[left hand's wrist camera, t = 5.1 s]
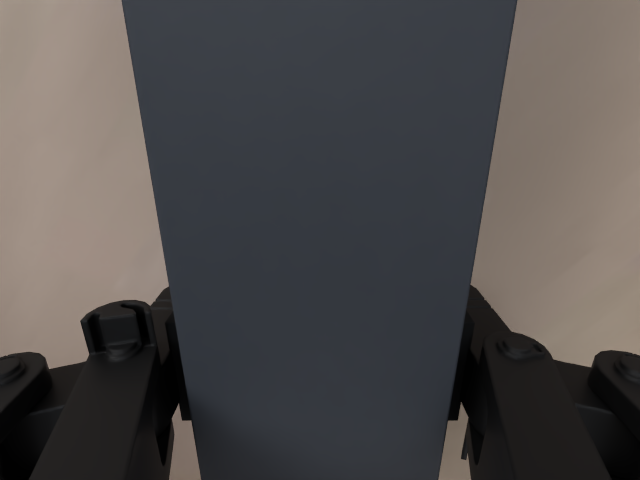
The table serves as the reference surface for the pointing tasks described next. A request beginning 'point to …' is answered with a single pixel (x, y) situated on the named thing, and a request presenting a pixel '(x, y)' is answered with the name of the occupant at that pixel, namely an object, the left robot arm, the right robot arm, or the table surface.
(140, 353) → the left robot arm
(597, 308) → the table surface
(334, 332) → the beam
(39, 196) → the table surface
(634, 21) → the table surface
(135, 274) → the table surface
